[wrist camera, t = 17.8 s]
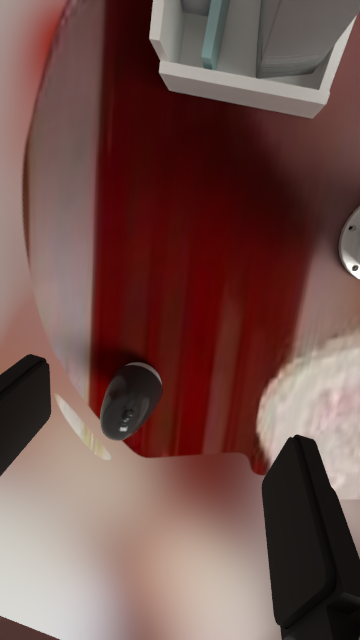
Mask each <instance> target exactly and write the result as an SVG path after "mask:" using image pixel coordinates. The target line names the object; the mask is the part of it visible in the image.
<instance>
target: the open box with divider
mask: <svg viewBox="0 0 360 640" xmlns="http://www.w3.org/2000/svg"><path fill="white" fill-rule="evenodd" d="M260 6H261V0H230V2H229V7H228V12H227V17H226V22H225V27H224V32H223V37H222V42H221V47H220V52H219V57H218V62H217V67H216V71H215V70H209V69H204V67H203V63H202V58H201V55H202V49H203V43H204V38H205V32H206V27H207V21H208V17H207V16H201V15H195V14H189V13H184V12H183V7H182V0H153V7H152V17H151V26H150V36H149V39H150V41H151V43H152V45H153V47H154V49H155V51H156V53H157V55H158V57H159V59H160V67H159V74H160V75H161V77H162V79H163V81H164V82H165V84H166V86H167V88H168V89H169V91H174V92H179V93H184V94H189V95H194V96H199V97H204V98H209V99H214V100H219V101H224V102H229V103H235V104H240V105H245V106H250V107H255V108H260V109H265V110H270V111H275V112H280V113H285V114H290V115H295V116H300V117H306V118H311V119H313V118H314V117H315V116H316V115H317V113H318V112H319V111H320V110H321V109H322V108H323V107H324V106H325V105H326V103H327V100H328V98H329V95H330V92H329V90H330V87H331V84H332V81H333V79H334V76H335V73H336V70H337V68H338V65H339V62H340V60H341V57H342V54H343V51H344V49H345V46H346V43H347V40H348V38H349V35H350V32H351V29H352V27H353V24H354V21H355V18H356V17H355V18H354V19H353V21H352V22H351V23H350V25H349V26H348V27H347V29H346V30H345V31H344V33H343V34H342V35H341V37H340V38H339V39H338V41H337V42H336V43H335V44H334V46H333V47H332V48H331V50H330V51H329V52H328V54H327V55H326V56H325V58H324V59H323V60H322V61H321V63H320V64H319V65H318V67H317V68H316V69H315V71H314V72H313V73H312V74H306V75H296V76H283V77H272V78H262V79H257V78H256V57H257V41H258V28H259V17H260Z"/></svg>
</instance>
